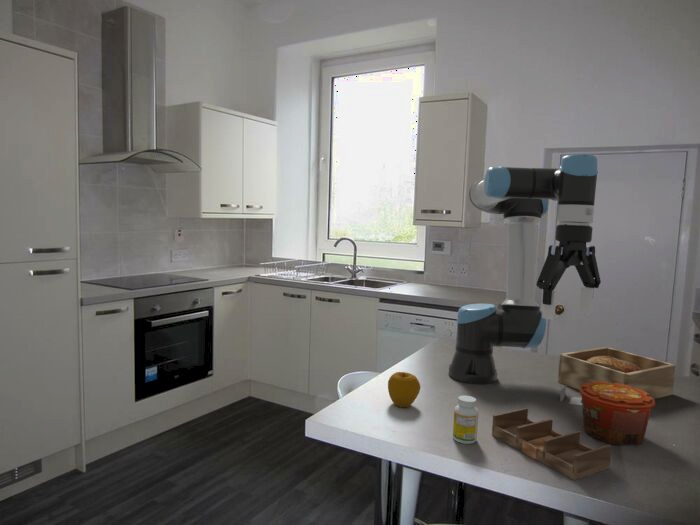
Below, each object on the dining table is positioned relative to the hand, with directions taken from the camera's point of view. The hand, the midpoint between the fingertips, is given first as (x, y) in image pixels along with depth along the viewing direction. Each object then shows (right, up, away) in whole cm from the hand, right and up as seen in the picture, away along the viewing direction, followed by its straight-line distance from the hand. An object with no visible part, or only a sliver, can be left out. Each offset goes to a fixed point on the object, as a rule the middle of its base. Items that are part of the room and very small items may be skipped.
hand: (567, 316), depth 113 cm
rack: (-7, -29, -5) cm, 30 cm away
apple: (-36, -26, +19) cm, 48 cm away
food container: (+13, -29, +5) cm, 32 cm away
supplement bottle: (-24, -28, -1) cm, 37 cm away
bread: (+32, -26, +39) cm, 57 cm away
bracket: (+15, -28, +26) cm, 41 cm away
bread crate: (+32, -26, +39) cm, 57 cm away
